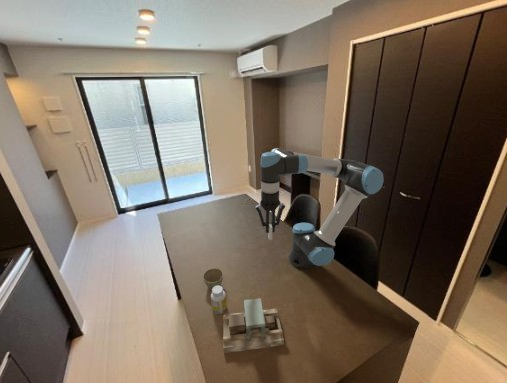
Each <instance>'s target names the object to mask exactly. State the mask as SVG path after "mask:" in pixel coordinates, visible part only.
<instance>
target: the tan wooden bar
mask: <svg viewBox="0 0 507 383" xmlns="http://www.w3.org/2000/svg"><path fill="white" fill-rule="evenodd" d="M241 313H242V314H235V313H233V314H234V315H229V331H230V335H238V334H245V331H246V319H244V313H243V312H241ZM264 320H265V328H270V329H271V328H275V327H276V321H274V316H273V315H272V316H264ZM250 329H251V330H257V329H261V327H256V328H250Z"/></svg>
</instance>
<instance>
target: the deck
mask: <svg viewBox="0 0 507 383" xmlns="http://www.w3.org/2000/svg"><path fill="white" fill-rule="evenodd" d="M243 306H244V307H243V308H244V311H243V312H237V313H235V312H234V313H227V314H223V317H222V319H223V320H222V321H223V325H222V326H223V331H222V332H223V335H222V342H223V344H222V346H223V347H222V348H223V353H224V354H227V353H229V354H230V353H236V352H242V351H243V352H244V351H250V350H256V349H257V350H258V349H265V348H271V347H279V346H280V347H281V346H284V345H285V338H284V335H283V329H282V326H281V322H280V318H279V310H278V309H277V308H270V309H269V308H268V309H263V304H262V298H260V297H259V298H252V299H244V300H243ZM242 313H244V319H246V331H245V334H238V335H230V331H229V315H234V314H242ZM272 315H273V316H274V321H275V325H276V329H272V330H270V329H269V328H265V320H264V316H272ZM256 327H261V329H257V330H251V329H250V328H256Z"/></svg>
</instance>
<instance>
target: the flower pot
mask: <svg viewBox="0 0 507 383" xmlns="http://www.w3.org/2000/svg"><path fill="white" fill-rule="evenodd" d="M202 279H203V280H202V281H203V282H204V284H205V285H206V287H207V288H209V289H210V290H212V289H213V287H215V286H218V285H219V286H221V284H222V282H223V279H224V271H222V270H221V269H220V268H213V267H212V268H209V269H207V270H205V272H204V273H203V275H202Z"/></svg>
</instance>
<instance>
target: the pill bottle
mask: <svg viewBox="0 0 507 383" xmlns="http://www.w3.org/2000/svg"><path fill="white" fill-rule="evenodd" d="M226 294H227V293H226V292H225V291H224V289H223V286H221V285H220V286H219V285H218V286H215V287H213V289H211V294H210V301H211V302H210V303H211V309H212V311H213V313H214V314H216V315H221V314H223V313H225V312H226V310H227V307H228V305H227V297H226V296H227V295H226Z"/></svg>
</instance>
